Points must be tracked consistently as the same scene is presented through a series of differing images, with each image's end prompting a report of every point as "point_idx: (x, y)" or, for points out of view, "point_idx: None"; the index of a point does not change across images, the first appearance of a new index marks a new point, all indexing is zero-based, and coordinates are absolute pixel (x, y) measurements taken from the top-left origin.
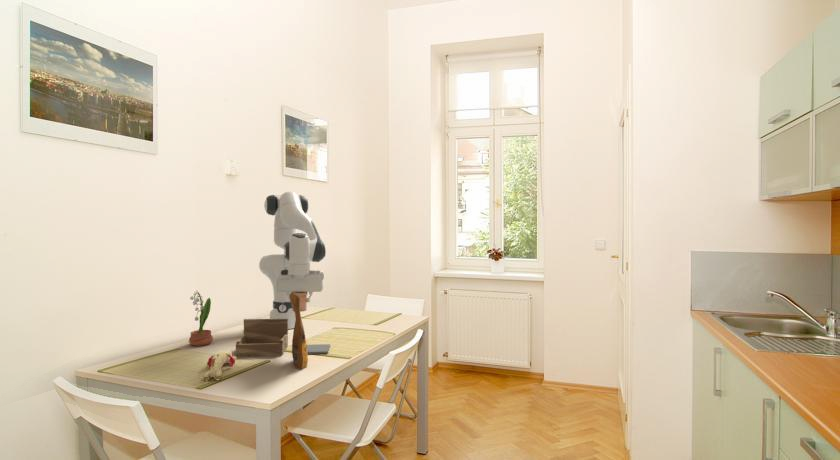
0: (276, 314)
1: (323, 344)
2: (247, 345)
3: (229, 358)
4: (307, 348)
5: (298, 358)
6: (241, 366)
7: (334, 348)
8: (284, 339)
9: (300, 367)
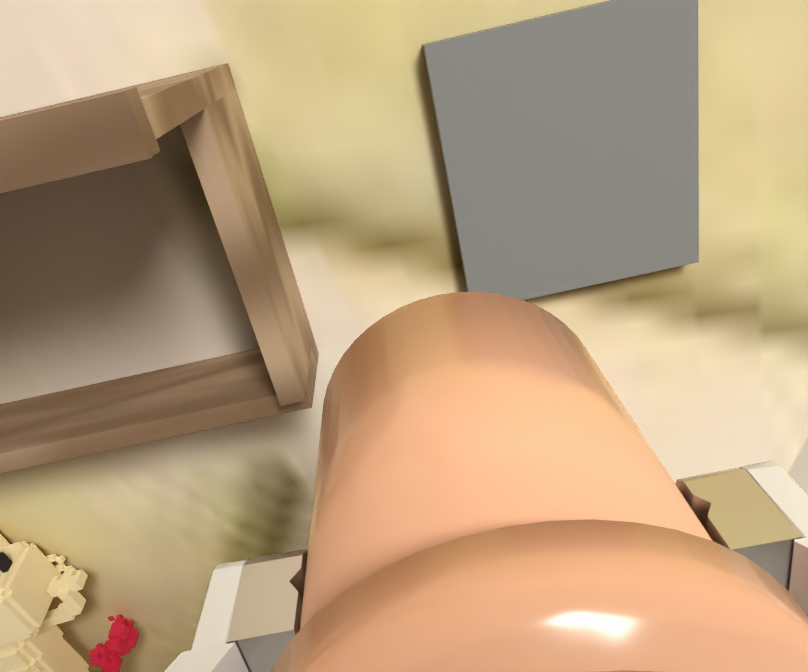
0: None
1: (622, 4)
2: (11, 466)
3: (62, 621)
4: (488, 191)
5: None
6: (173, 589)
7: (736, 60)
8: (273, 301)
9: None
